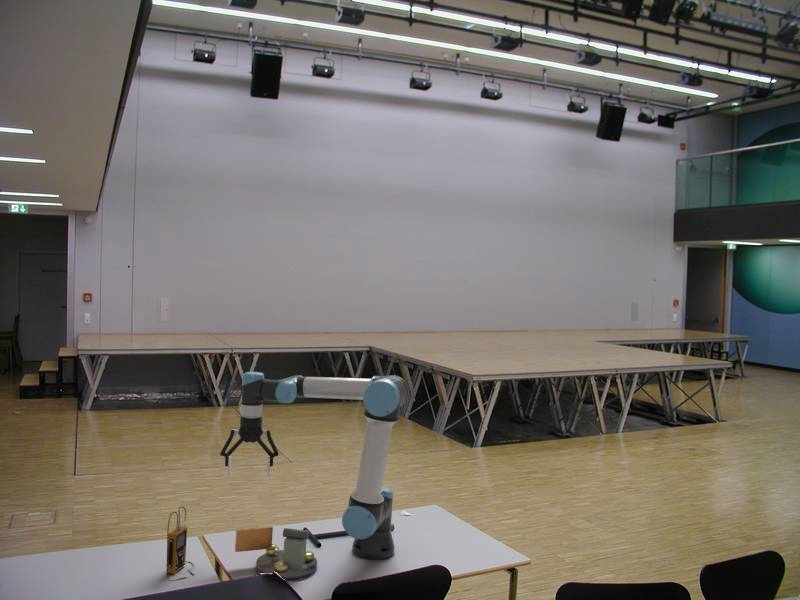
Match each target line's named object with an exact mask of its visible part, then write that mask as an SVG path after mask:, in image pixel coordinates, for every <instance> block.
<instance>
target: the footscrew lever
mask: <svg viewBox="0 0 800 600" xmlns="http://www.w3.org/2000/svg"><path fill="white" fill-rule="evenodd" d="M273 529H274V527H273V526H272V525H267V526H256V527H255V526H254V527H247V528H246V527H244V528H236V529H235V540H234V541H235V542H234V543H235V544H234V551H235V553H242V552H249V551H259V550H261V551H262V550H265V554H266V556H268V557H276V556H278V555H279V550H280V548H279V546H277V544H274V543H273V534H274V533H273V532H274V530H273Z"/></svg>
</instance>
